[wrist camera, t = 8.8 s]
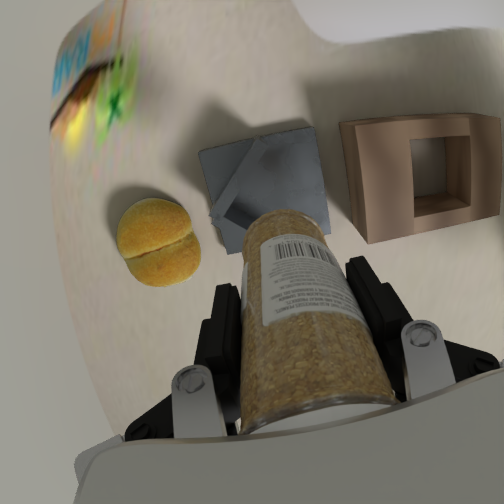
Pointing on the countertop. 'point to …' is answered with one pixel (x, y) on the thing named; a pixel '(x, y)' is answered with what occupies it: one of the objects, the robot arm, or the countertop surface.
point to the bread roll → (158, 242)
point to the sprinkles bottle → (302, 332)
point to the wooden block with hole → (401, 178)
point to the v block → (264, 181)
